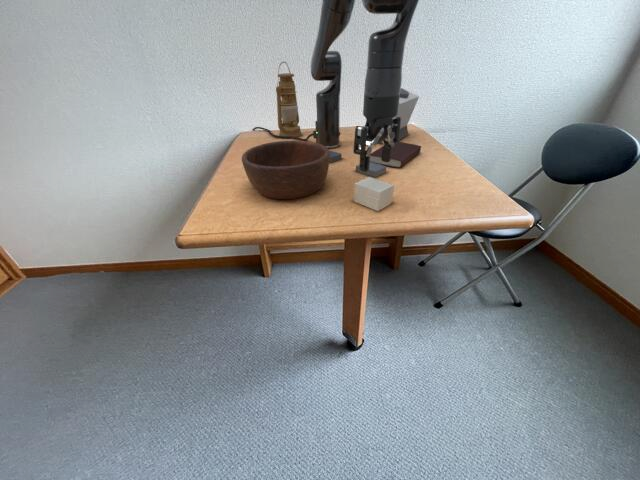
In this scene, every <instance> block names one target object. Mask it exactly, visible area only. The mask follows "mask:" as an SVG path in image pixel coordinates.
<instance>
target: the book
mask: <svg viewBox="0 0 640 480" xmlns="http://www.w3.org/2000/svg"><path fill="white" fill-rule="evenodd" d="M383 146H385V145H382V146H381V147H379V148H377V149H376V150H374V151H371V153H370V155H369V156H370V162H372V163H376V164H379V165H383V166H386V167H387V166H388V167H393V168H402V167H403V166H405V164H407V163H408V162H410V161H411V160H412V159H414V158H415V157H416V156H418V155H419V154H420V152H421V149H422V146H421V145H418V144H414V143H408V142H403V141H398V142H397V143H394V146H393V147H392V151H391V158H390V162H384V161H382V160H381V159H382V149H383Z"/></svg>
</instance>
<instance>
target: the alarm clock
mask: <svg viewBox="0 0 640 480" xmlns="http://www.w3.org/2000/svg"><path fill="white" fill-rule="evenodd" d="M419 98H420V96H419V95H418V94H416V93H413V92H411V91H409V90H407V89H405V88H402V87H401V90H400V98H399V106H398V114H397V116H396V117H400V118H401V123H400V132H399V141H400V140H402V139H403V138H405V137H406V136H408V135H409V129H408V124H409V121H410V120H411V118H412V116H413V113H414V110H415V108H416V106H417V103H418V100H419ZM393 137H395V133H394V132H393ZM367 141H369V142H371V141H370V140H369V139H368V140H367ZM378 144H379V145H383V143H382V141H380V142H379V143H377V145H378Z"/></svg>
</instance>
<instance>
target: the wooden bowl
mask: <svg viewBox="0 0 640 480" xmlns="http://www.w3.org/2000/svg"><path fill="white" fill-rule="evenodd" d="M329 150H330V148H327V147H325V146H324V145H322V144H319V143H316V141H315V142H314V141H308V140H306V141H302V140H281V141H272V142H271V141H270V142H266V143H262V144H259V145H256V146H253V147H250V148H249V149H247V150H246V151H245V152H243V154H242V156H241V163H242V166H243V168H244V172H245V175H246V178H247V180H248V181H249V184H250V185H251V186H252V188H254V190H255V191H256V192H257V193H258V194H260V195H262V196H263V197H266V198H270V199H273V200H295V199H299V198H300V199H301V198H304V197H308V196H310V195H313V194H315V193H316V192H317V191H319V190H320V189H321V188H322V187H323V185H324V183H325V181H326V179H327V176H328V172H329V167H330V163H329V161H330V151H331V150H330V151H329Z"/></svg>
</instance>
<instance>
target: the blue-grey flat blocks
mask: <svg viewBox="0 0 640 480" xmlns="http://www.w3.org/2000/svg"><path fill="white" fill-rule="evenodd" d="M329 151H330V161H329V164H332V163H334V162H338V161H340V160H342V153H341V152H337V151H333V150H330V149H329ZM359 165H360V163H359V164H356V165H355V173H359V174H363V175H365V176H368V177H371V178H377V177H379V176H381V175H383V174H385V173H387V166H386V165H381V164H376V163H372V162H370V163H369V171H367V172H364V171H361V170H360V167H359Z"/></svg>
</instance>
